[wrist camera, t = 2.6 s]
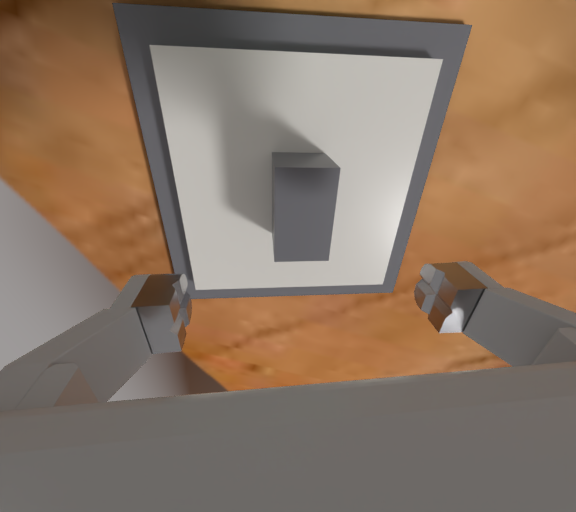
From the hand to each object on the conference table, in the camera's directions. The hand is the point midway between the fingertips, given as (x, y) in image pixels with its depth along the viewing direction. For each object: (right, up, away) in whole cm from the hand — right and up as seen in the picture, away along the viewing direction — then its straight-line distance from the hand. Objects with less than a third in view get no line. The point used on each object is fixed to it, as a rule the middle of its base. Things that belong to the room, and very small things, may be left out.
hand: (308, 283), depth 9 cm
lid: (0, +5, +8) cm, 9 cm away
